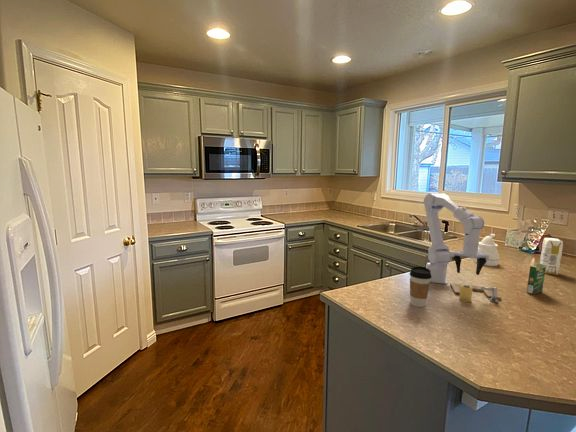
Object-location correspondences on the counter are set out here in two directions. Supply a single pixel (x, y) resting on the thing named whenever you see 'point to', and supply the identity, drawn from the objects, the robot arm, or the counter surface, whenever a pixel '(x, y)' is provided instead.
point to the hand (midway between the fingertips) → (467, 273)
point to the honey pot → (489, 250)
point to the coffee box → (536, 279)
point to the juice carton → (551, 255)
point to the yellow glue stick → (465, 293)
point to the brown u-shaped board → (475, 288)
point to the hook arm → (494, 292)
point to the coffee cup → (419, 285)
